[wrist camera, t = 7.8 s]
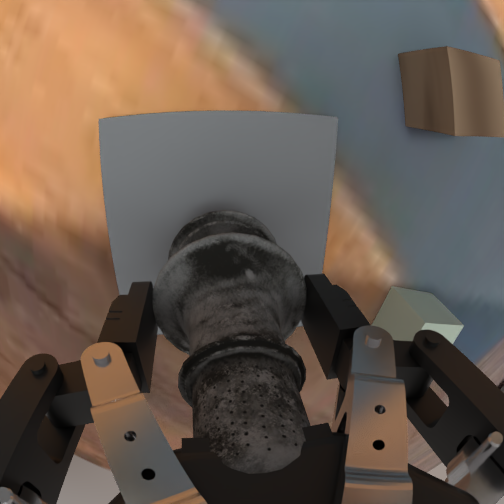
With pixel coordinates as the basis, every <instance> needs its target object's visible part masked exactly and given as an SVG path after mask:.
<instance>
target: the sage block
mask: <svg viewBox="0 0 504 504" xmlns="http://www.w3.org/2000/svg"><path fill="white" fill-rule="evenodd" d="M371 326H377V327H380V328H382V329H384V330H386V331H387V332H388V333H389V334H390V335H391V336H392V338H393V340H399V341H413V338H414V336H415V334H416V333H417V332H418V331H420V330H433V331H436V332H438V333H440V334H442V335H443V336H444V337H445V338H446V339H447V340H448V341H450V342H451V343H452V344H453V343H454V341H455V339H456V338H457V336H458V335H459V333H460V331H461V330H462V328H463V327H464V325H463V324H462V323H461V322H460V321H459V320H458V319H457V318H456V317H455V316H454V315H453V314H452V313H451V312H450V311H449V310H448V309H447V308H446V307H445V306H444V305H443V304H442V303H441V302H440V301H439V300H438V299H437V298H436V297H435V296H434V295H433V294H432V293H428V292H422V291H417V290H411V289H406V288H400V287H395V286H392V287H391V289H390V291H389V293H388V295H387V297H386V299H385V301H384V303H383V304H382V306H381V308H380V310H379V312H378V314H377V316H376V318H375V320H374V322H373V323H372V325H371Z"/></svg>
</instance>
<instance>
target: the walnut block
mask: <svg viewBox="0 0 504 504" xmlns="http://www.w3.org/2000/svg"><path fill="white" fill-rule="evenodd" d="M398 57H399V64H400V72H401V80H402V89H403V99H404V110H405V125H406V126H407V127H413V128H419V129H424V130H429V131H434V132H439V133H444V134H448V135H453V136H486V137H504V101H503V87H502V77H501V68H500V61H499V60H496V59H493V58H490V57H486V56H483V55H479V54H476V53H472V52H468V51H464V50H460V49H456V48H452V47H448V46H446V47H438V48H430V49H423V50H417V51H411V52H405V53H400V54H398Z"/></svg>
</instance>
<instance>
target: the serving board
mask: <svg viewBox="0 0 504 504" xmlns="http://www.w3.org/2000/svg"><path fill="white" fill-rule="evenodd" d="M337 127H338V117H332V116H322V115H312V114H300V113H285V112H266V111H185V112H166V113H151V114H140V115H129V116H120V117H111V118H103V119H99V141H100V158H101V172H102V183H103V193H104V202H105V211H106V218H107V226H108V233H109V239H110V246H111V252H112V258H113V264H114V269H115V274H116V280H117V285H118V289H119V294H120V295H128V293H129V290H130V287H131V284H132V282H143V281H151V282H152V284H153V288H154V285H155V282H156V280H157V277H158V274H159V272H160V271H161V269H162V268H163V267H164V265H165V264H166V263H167V261H168V256H169V250H170V248H171V245H172V242H173V240H174V238H175V237H176V235H177V234H178V233H179V231H180V230H181V229H182V227H183V226H185V225H186V224H187V223H189V222H190V221H191V220H193V219H194V218H196V217H198V216H201V215H203V214H205V213H208V212H212V211H220V210H231V211H239V212H243V213H245V214H247V215H250V216H252V217H255V218H256V219H257V220H259V221H260V222H261V223H263V224H264V225H265V226H266V227H267V228H268V229H269V231H270V232H271V234H272V235H273V236H274V238H275V240H276V243H277V245H278V246H279V247H281V248H282V249H283V250H285V251H286V252H287V253H289V254H290V255H291V256H292V258H293V259H294V261H295V262H296V263H297V265H298V266H299V268H300V269H301V271H302V274H303V277H304V276H305V275H310V274H322V270H323V263H324V256H325V249H326V241H327V233H328V225H329V216H330V207H331V198H332V188H333V178H334V167H335V155H336V142H337ZM299 326H303V324H302V322H301V321H300V322H299V324H298V326H297V327H299ZM157 334H163V333H162V331H161V330H160V328H159V327H158V332H157Z"/></svg>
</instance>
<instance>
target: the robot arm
mask: <svg viewBox="0 0 504 504" xmlns="http://www.w3.org/2000/svg"><path fill="white" fill-rule="evenodd" d="M304 280H305V283H306V287H307V297H306V306H305V310H304V313H303V316H302V319H301V322H302V324H303V327H304V329H305V331H306V333H307V335H308V338H309V340H310V342H311V344H312V347H313V349H314V351H315V353H316V356H317V358H318V360H319V362H320V365H321V367H322V369H323V372H324V374H325V376H326V378H327V379H333V378H338V380H339V385H338V388H337V395H336V402H335V409H334V415H333V421H332V427H331V429H330V426H329V424H328V423H324V424H319V425H314V426H308V427H302V430H303V433H304V437H305V440H306V441H305V442H303V445H302V448H301V453H300V456H299V457H298V458H296V459H295V460H294V461H292V462H291V463H290V464H288V465H287V466H286V467H284V468H283V469H280V470H276V471H272V472H268V473H256V474H248V473H244V472H241V471H238V470H234V469H231V468H230V467H228V466H226V465H224V464H223V462H222V460H221V459H220V458H219V457H218V456H217V455H216V454H215V453H214V452H210V443H209V438H182V448H180V449H176V450H172V449H171V447H170V445H169V443H168V442H167V440H166V438H165V436H164V434H163V433H162V431H161V429H160V427H159V425H158V423H157V421H156V419H155V417H154V415H153V413H152V411H151V409H150V407H149V405H148V403H147V401H146V399H145V397H144V395H143V393H150V387H151V378H152V370H153V362H154V354H155V346H156V339H157V332H158V325H157V323H156V320H155V316H154V311H153V305H152V292H153V284H152V282H151V281H143V282H132V284H131V287H130V290H129V293H128V295H119V296H118V297H117V298H116V299H115V300H114V301H113V302H112V304H111V307H110V309H109V313H108V315H107V317H106V320H105V323H104V325H103V328H102V331H101V334H100V337H99V339H98V342H97V343H96V344H94V345H92V346H90V347H88V348H87V349H86V350H85V351H84V352H83V354H82V356H81V360H79V361H76V362H71V363H66V364H61V365H59V364H58V362H57V360H56V359H55V357H53V356H52V355H49V354H37V355H34V356H32V357H30V358H29V359H27V360H26V361H25V363H24V364H23V365H22V367H21V368H20V370H19V371H18V373H17V374H16V376H15V377H14V379H13V380H12V382H11V383H10V385H9V386H8V388H7V390H6V391H5V393H4V394H3V396H2V397H1V399H0V504H56V502H57V500H58V497H59V494H60V491H61V488H62V485H63V482H64V479H65V476H66V474H67V471H68V468H69V465H70V462H71V460H72V457H73V455H74V452H75V449H76V447H77V444H78V442H79V439H80V437H81V434H82V432H83V429H84V427H85V424H89V423H95V427H96V430H97V433H98V436H99V439H100V441H101V444H102V447H103V450H104V453H105V455H106V458H107V461H108V463H109V466H110V468H111V471H112V473H113V475H114V478H115V481H116V483H117V485H118V487H119V490H120V493H119V494H118V495H117V496H116V497H115V498H114V499H113V500H112V501H111V502H110V503H109V504H496V503H497V502H498V501H499V499H500V498H502V497H503V496H504V393H503V392H502V391H501V390H500V389H499V388H498V387H497V386H496V385H495V384H494V383H493V382H492V381H491V380H490V379H489V378H488V377H487V376H486V375H485V374H484V373H483V372H482V371H481V370H480V369H478V368H477V367H476V366H475V365H474V364H473V363H472V362H471V361H470V360H469V359H468V358H467V357H466V356H465V355H464V354H463V353H461V352H460V351H459V350H458V349H457V348H456V347H455V346H454V345H453V344H452V343H451V342H450V341H448V340H447V339H446V338H445V337H444V336H443V335H442V334H440V333H438V332H436V331H433V330H420V331H418V332H417V333H416V334H415V336H414V338H413V341H399V340H393V338H392V336H391V335H390V334H389V333H388V332H387V331H386V330H384V329H382V328H380V327H377V326H371V325H370V324H369V322H368V321H367V319H366V318H365V317H364V315H363V314H362V312H361V311H360V310H359V308H358V307H356V304H355V303H354V301H353V300H352V298H351V297H350V296H349V294H348V293H347V292H346V291H345V290H344V289H342V288H341V287H339V286H338V285H332V284H331V283H330V281H329V280H328V278H327V277H326V276H325V274H310V275H305V276H304ZM433 380H434V381H435V382H436V383H437V384H438V385H439V386H440V387H441V388H442V389H443V390H444V391H445V393H446V394H447V395H448V397H449V406H448V407H447V406H446V405H445V404H444V402H443V401H442V400H441V399H440V398H439V397H438V396H437V395H436V394H435V392H434V391H433V390H432V389H431V388H430V387H429V386H430V384H431V382H432V381H433ZM407 418H408V419H409V420H410V421H411V423H412V424H413V425H414V427H415V428H416V429H417V430H418V432H419V433H420V434H421V435H422V437H423V438H424V439H425V440H426V442H427V443H428V444H429V446H430V447H431V448H432V449H433V451H434V452H435V453H436V455H437V456H438V457H439V458H440V460H441V461H442V462H443V463H444V465H445V466H446V467H447V470H446V471H447V478H446V480H445V481H442V480H440V479H438V478H436V477H434V476H432V475H430V474H428V473H426V472H424V471H422V470H420V469H418V468H416V467H414V466H412V465H410V464H408V435H407Z"/></svg>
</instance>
